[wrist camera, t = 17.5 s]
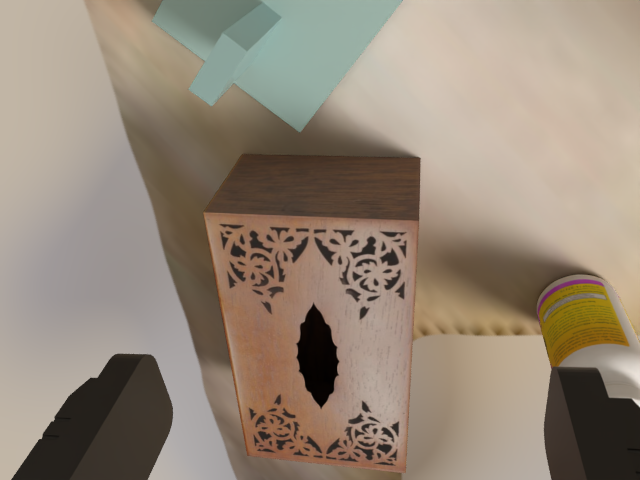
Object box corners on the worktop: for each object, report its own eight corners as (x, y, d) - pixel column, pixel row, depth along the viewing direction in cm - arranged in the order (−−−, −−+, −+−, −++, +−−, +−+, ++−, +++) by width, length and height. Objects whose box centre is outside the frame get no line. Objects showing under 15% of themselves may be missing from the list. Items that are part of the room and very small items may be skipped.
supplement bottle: (518, 301, 50) (544, 417, 39) (582, 257, 46) (629, 370, 36) (569, 343, 51) (608, 465, 40) (634, 302, 48) (694, 424, 37)
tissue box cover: (408, 387, 58) (405, 473, 49) (272, 376, 60) (247, 455, 52) (420, 156, 44) (419, 220, 36) (243, 152, 46) (202, 212, 38)
